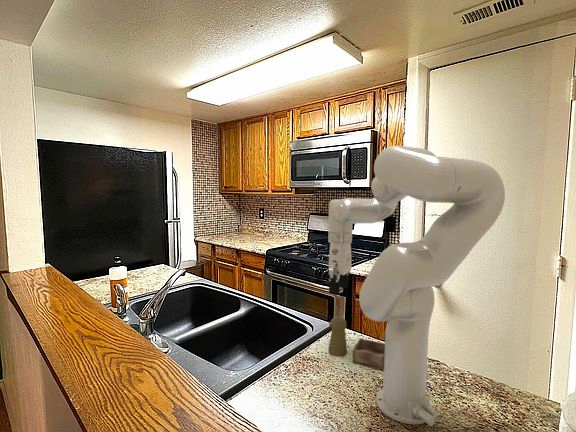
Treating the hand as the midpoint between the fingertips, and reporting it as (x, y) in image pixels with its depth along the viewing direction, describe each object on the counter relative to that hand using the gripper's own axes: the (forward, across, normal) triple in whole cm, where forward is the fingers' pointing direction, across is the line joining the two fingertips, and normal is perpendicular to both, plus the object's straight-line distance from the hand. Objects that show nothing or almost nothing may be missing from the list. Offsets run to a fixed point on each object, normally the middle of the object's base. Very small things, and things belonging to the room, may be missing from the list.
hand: (338, 290), depth 100 cm
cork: (+20, 0, 0) cm, 20 cm away
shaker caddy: (+20, 0, -11) cm, 23 cm away
